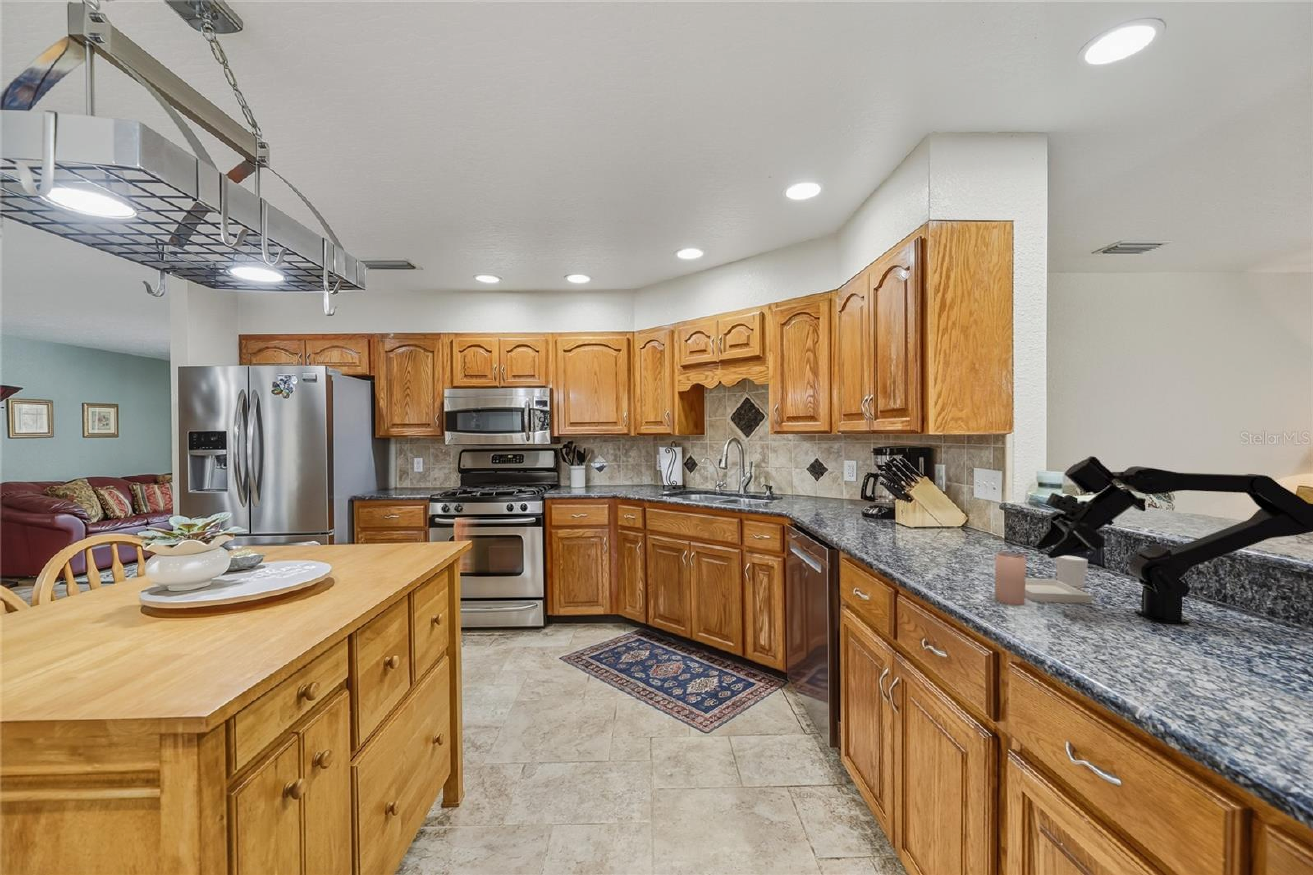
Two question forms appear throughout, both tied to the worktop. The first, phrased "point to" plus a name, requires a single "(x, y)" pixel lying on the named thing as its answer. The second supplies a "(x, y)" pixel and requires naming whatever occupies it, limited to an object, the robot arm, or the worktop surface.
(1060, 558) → the white short cylinder
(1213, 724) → the worktop surface
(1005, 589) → the deep cup
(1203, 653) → the worktop surface
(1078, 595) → the tray
